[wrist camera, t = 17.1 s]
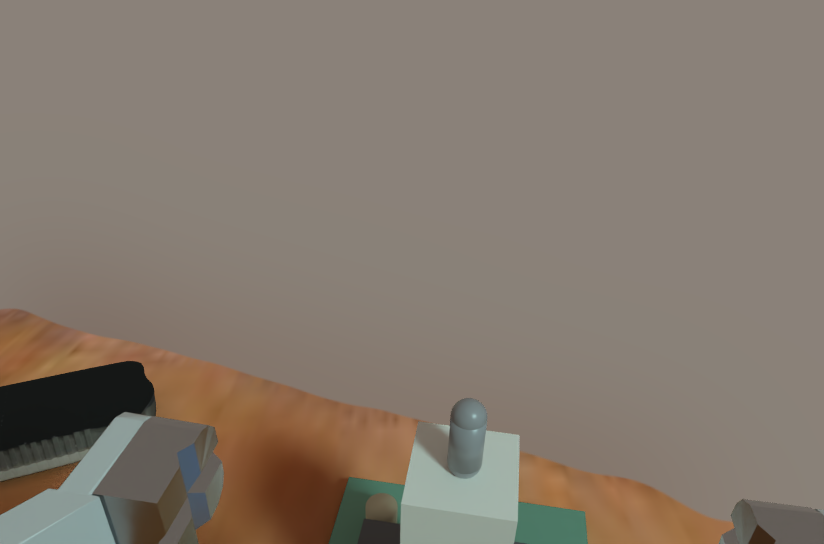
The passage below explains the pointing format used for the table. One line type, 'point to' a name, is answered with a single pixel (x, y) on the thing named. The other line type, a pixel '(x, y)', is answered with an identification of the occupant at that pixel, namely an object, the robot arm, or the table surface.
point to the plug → (461, 482)
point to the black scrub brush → (66, 415)
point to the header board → (381, 518)
